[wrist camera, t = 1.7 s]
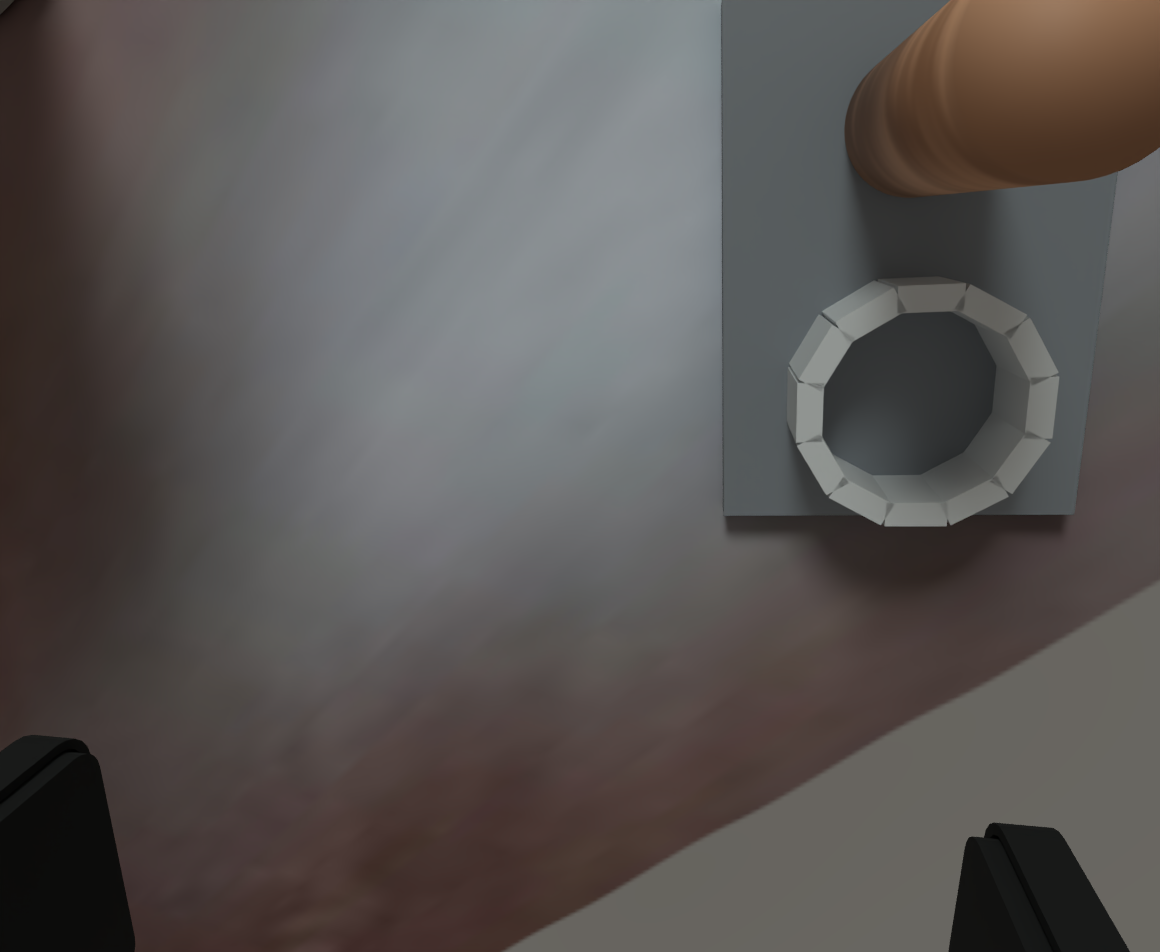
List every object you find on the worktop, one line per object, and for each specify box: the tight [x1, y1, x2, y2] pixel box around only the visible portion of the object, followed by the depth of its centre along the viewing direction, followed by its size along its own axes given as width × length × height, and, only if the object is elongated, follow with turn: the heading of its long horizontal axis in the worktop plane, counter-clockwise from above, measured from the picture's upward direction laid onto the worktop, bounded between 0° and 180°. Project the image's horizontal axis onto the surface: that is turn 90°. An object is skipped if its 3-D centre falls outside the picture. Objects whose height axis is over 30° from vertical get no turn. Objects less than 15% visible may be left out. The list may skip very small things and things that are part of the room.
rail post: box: [844, 0, 1160, 198], centre depth 20 cm, size 4×4×12 cm
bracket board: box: [721, 0, 1118, 526], centre depth 26 cm, size 17×12×4 cm
